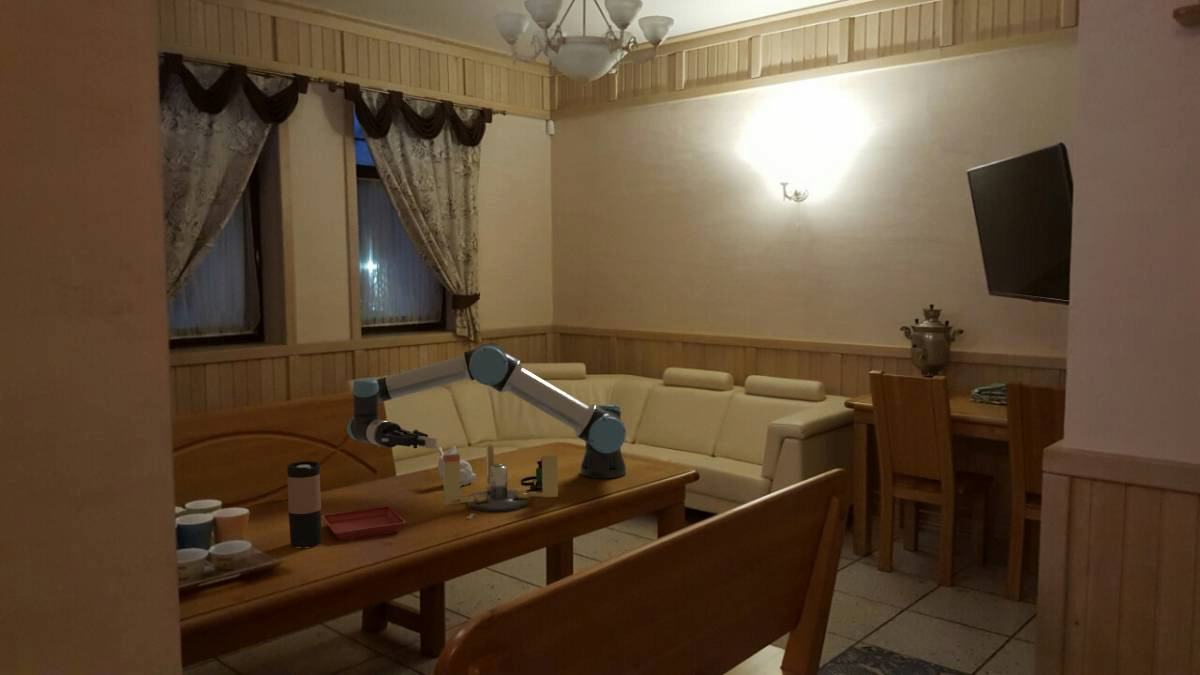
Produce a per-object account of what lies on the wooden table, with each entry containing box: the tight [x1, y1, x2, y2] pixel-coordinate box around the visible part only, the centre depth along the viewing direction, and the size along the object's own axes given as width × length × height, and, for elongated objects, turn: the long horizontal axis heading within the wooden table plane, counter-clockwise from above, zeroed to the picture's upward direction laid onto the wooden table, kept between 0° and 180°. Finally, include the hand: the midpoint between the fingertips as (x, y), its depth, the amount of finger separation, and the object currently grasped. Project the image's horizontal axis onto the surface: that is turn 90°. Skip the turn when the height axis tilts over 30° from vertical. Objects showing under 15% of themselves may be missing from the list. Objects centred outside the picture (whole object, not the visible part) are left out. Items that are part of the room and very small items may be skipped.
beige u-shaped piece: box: [442, 453, 488, 506], centre depth 246 cm, size 12×4×14 cm, turn 109°
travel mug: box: [286, 460, 322, 549], centre depth 216 cm, size 8×8×20 cm
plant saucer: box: [321, 505, 406, 541], centre depth 229 cm, size 18×18×3 cm
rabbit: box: [437, 445, 477, 487], centre depth 277 cm, size 12×9×12 cm
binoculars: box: [520, 457, 542, 492], centre depth 265 cm, size 9×11×10 cm
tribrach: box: [466, 443, 559, 520], centre depth 250 cm, size 27×32×14 cm
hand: (434, 443), depth 248 cm, fingers closed
